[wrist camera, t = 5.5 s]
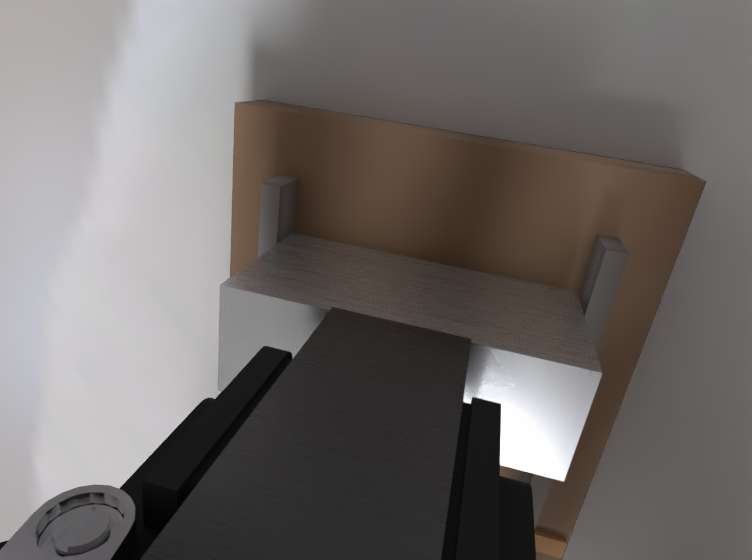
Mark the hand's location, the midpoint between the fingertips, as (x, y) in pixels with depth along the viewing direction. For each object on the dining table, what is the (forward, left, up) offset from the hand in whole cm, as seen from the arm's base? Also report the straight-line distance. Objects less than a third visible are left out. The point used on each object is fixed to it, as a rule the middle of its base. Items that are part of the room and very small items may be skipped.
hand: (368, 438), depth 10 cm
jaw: (0, 0, -7) cm, 7 cm away
